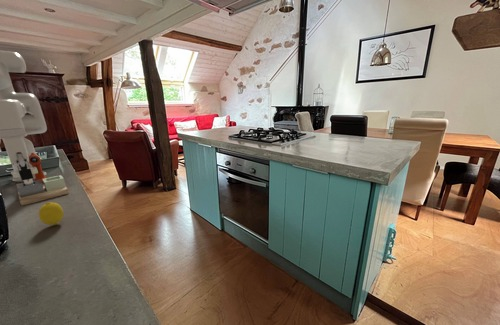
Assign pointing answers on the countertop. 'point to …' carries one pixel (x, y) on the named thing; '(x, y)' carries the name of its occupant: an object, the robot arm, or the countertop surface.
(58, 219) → the lemon
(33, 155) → the toy drill
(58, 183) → the pale green hollow frame
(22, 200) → the board
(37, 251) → the countertop surface
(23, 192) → the block
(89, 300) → the countertop surface
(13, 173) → the light grey block
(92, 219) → the countertop surface
